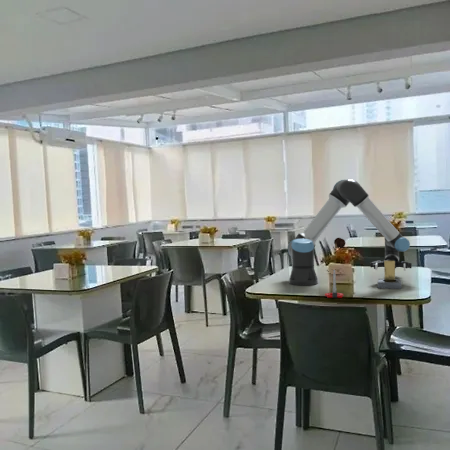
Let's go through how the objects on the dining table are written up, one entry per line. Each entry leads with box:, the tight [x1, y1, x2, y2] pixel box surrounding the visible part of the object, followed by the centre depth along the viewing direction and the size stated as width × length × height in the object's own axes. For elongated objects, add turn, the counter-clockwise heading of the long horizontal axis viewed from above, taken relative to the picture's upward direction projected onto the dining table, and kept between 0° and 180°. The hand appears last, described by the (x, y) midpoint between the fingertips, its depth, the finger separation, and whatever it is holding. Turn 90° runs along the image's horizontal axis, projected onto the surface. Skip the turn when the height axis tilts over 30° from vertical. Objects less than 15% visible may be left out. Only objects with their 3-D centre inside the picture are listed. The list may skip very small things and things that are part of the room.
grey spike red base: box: [324, 269, 344, 299], centre depth 224 cm, size 8×13×9 cm
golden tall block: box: [383, 260, 396, 282], centre depth 241 cm, size 5×5×13 cm
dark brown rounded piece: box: [333, 237, 346, 249], centre depth 298 cm, size 15×15×20 cm
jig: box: [377, 278, 402, 290], centre depth 242 cm, size 11×10×3 cm
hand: (390, 267), depth 242 cm, fingers open, 13 cm apart
